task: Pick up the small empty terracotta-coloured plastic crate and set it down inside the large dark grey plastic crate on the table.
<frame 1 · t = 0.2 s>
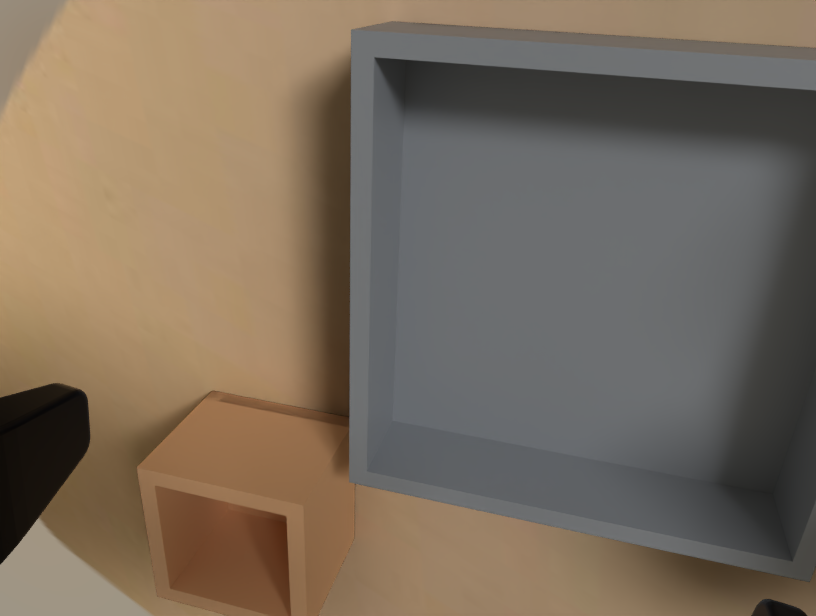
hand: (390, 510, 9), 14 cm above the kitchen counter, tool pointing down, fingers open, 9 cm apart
big crate: (602, 278, 22), on the kitchen counter
small crate: (284, 466, 29), on the kitchen counter
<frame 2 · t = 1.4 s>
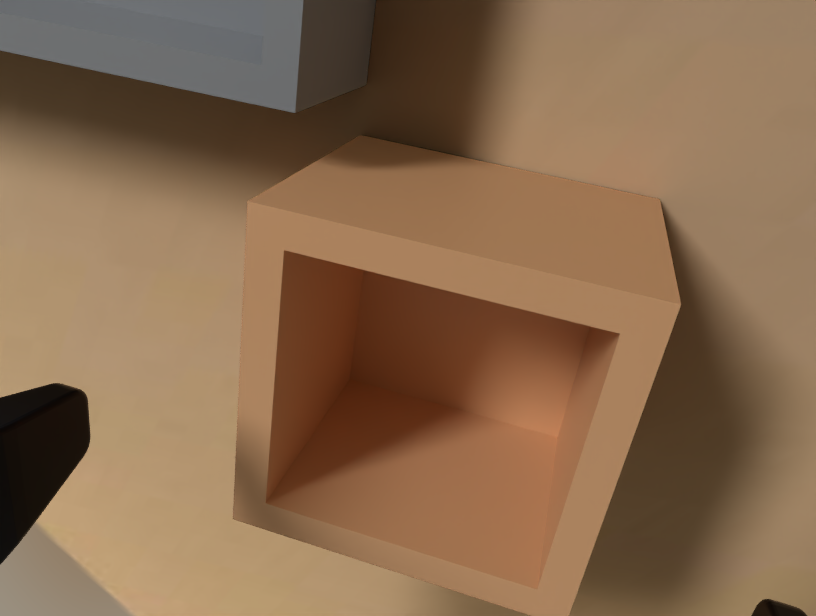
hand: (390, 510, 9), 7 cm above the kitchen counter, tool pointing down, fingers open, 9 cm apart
small crate: (475, 301, 15), on the kitchen counter
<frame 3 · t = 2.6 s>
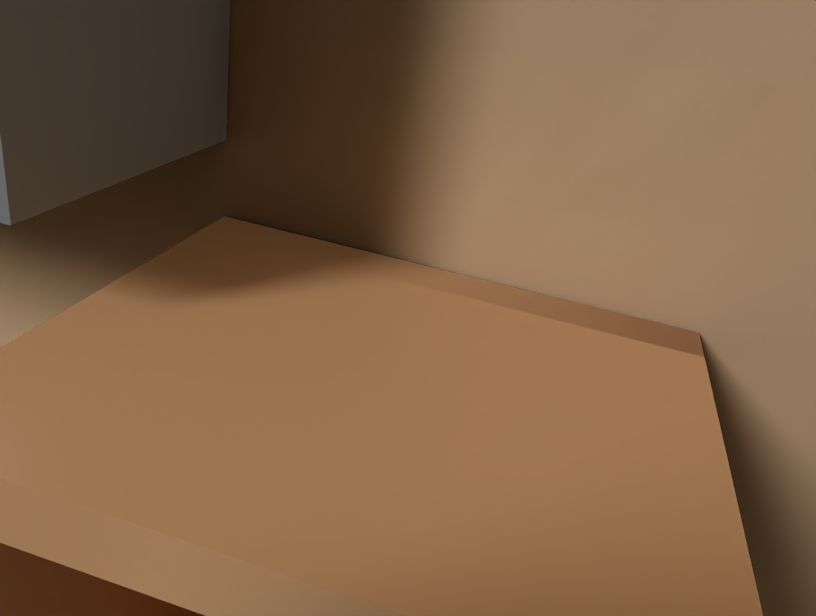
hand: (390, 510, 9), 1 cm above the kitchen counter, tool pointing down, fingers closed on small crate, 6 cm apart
small crate: (411, 463, 10), on the kitchen counter, touching gripper
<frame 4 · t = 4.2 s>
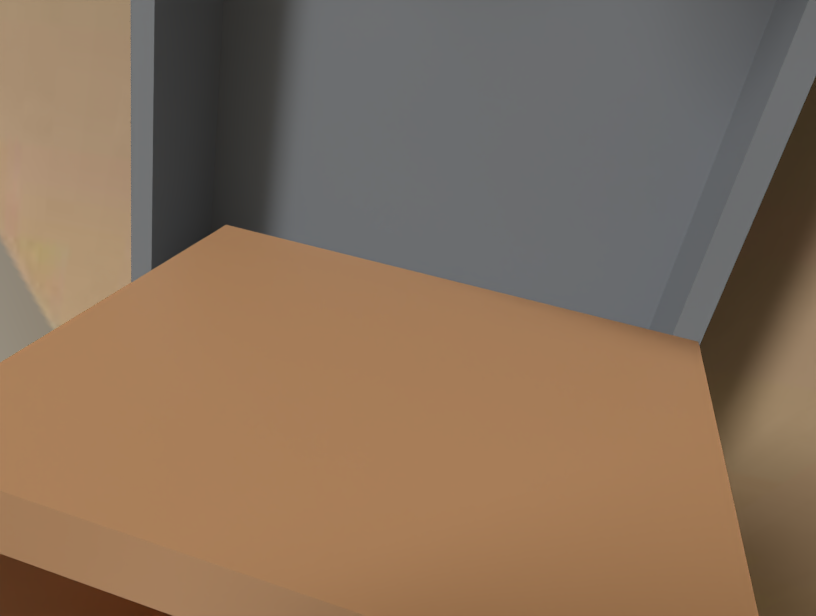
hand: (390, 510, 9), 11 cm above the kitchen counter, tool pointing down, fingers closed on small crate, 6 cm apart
big crate: (458, 86, 18), on the kitchen counter
small crate: (411, 469, 10), point 10 cm above the kitchen counter, touching gripper
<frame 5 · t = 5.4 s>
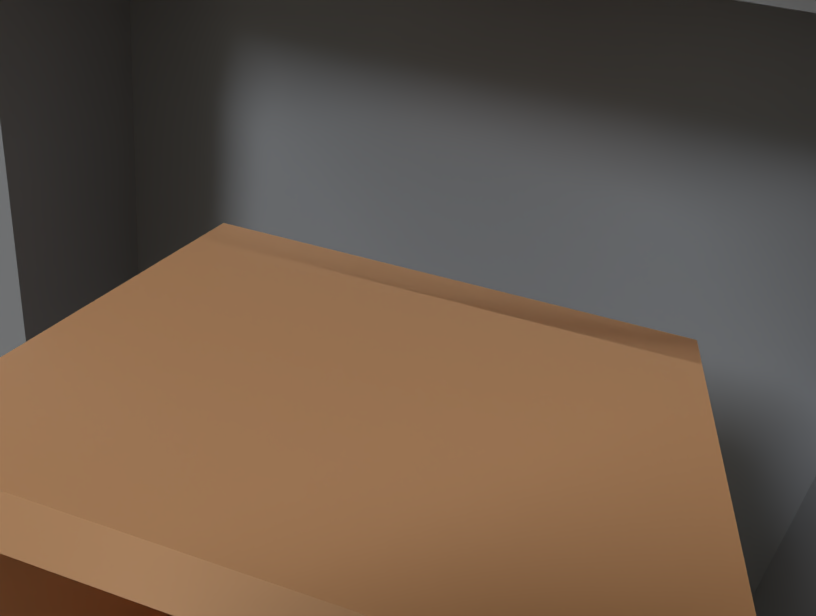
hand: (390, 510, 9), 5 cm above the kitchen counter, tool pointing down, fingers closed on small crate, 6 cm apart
big crate: (458, 343, 13), on the kitchen counter
small crate: (410, 468, 10), point 4 cm above the kitchen counter, touching gripper
when the fingers open (4 cm above the kitchen counter, at t = 6.0 s): small crate drops 2 cm, resting on big crate.
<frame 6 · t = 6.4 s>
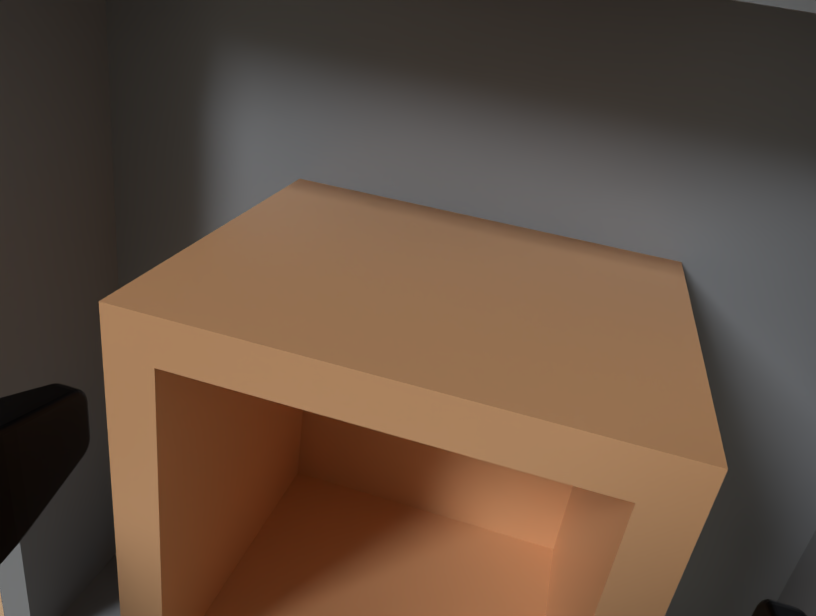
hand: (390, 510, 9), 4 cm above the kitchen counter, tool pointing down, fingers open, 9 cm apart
big crate: (452, 362, 13), on the kitchen counter
small crate: (449, 381, 12), resting on big crate
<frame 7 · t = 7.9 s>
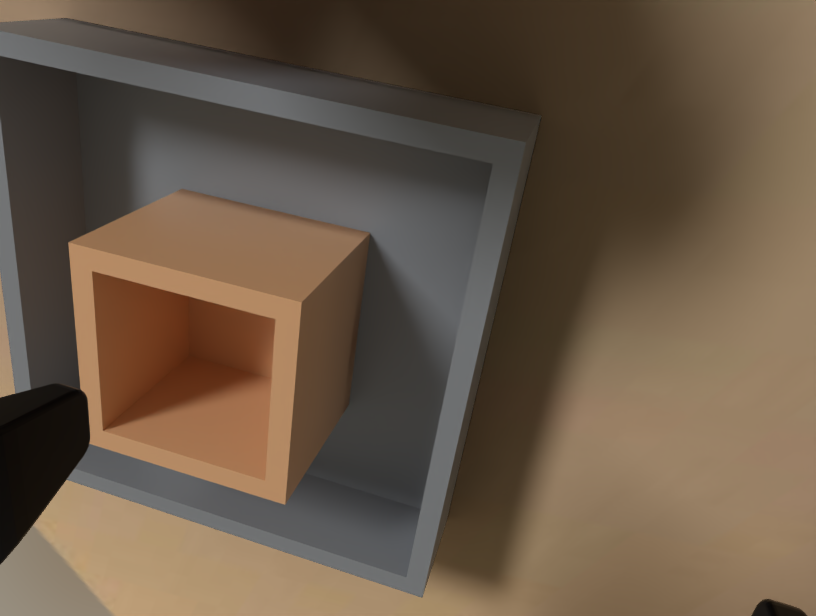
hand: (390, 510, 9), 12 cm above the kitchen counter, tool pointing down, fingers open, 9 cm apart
big crate: (273, 291, 22), on the kitchen counter
small crate: (268, 300, 22), resting on big crate
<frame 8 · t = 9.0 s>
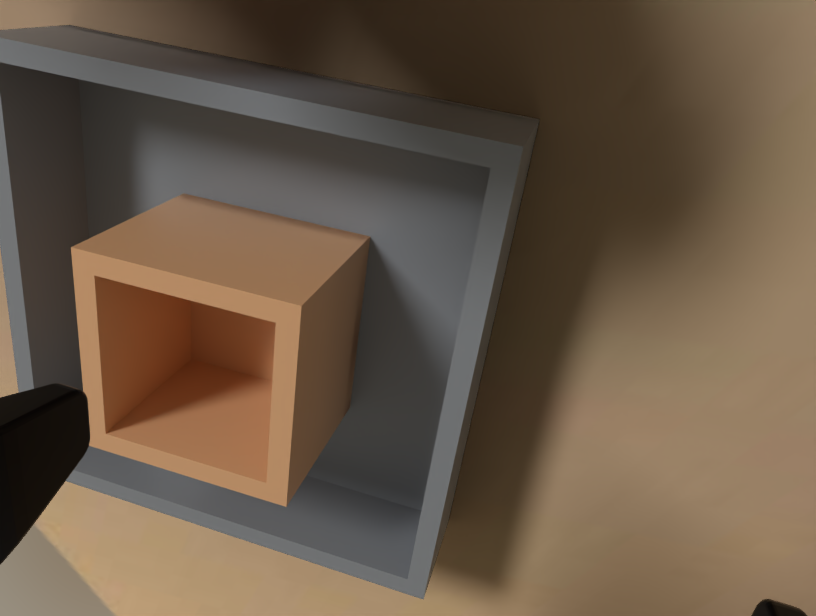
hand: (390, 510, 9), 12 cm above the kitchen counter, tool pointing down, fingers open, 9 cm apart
big crate: (274, 294, 23), on the kitchen counter
small crate: (269, 304, 22), resting on big crate
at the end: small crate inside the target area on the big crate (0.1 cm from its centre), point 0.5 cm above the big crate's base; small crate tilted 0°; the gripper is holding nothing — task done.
